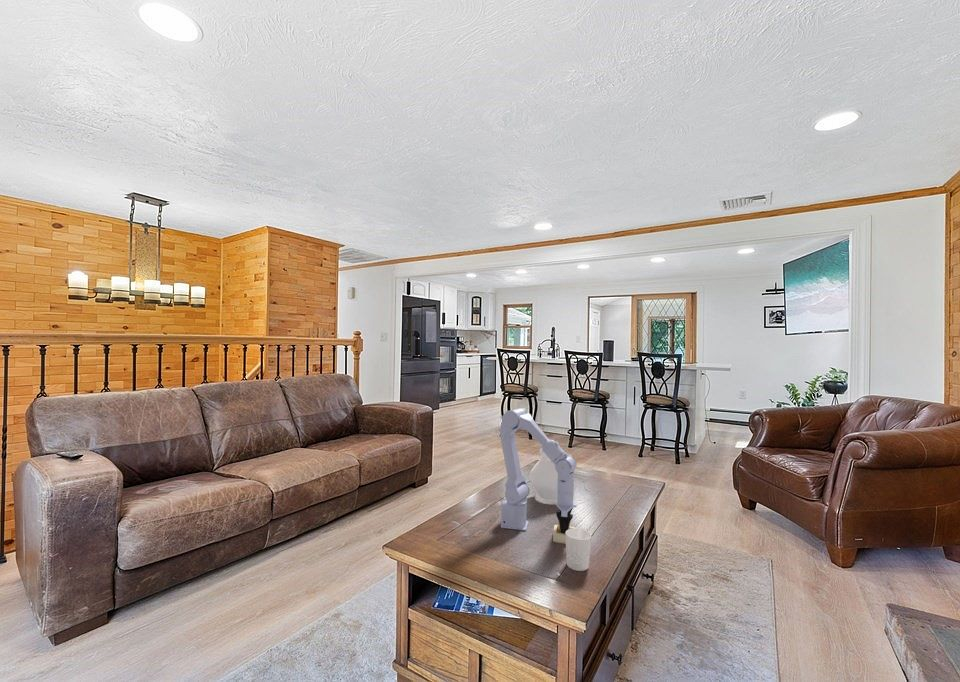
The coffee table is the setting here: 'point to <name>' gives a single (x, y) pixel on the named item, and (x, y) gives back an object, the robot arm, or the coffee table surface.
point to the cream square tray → (559, 535)
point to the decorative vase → (544, 480)
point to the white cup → (578, 549)
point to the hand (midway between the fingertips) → (564, 529)
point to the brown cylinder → (559, 527)
